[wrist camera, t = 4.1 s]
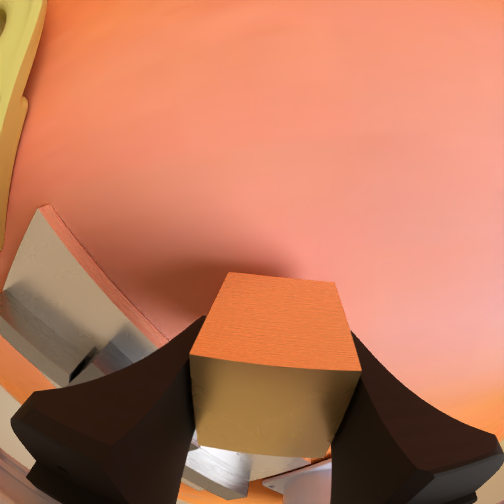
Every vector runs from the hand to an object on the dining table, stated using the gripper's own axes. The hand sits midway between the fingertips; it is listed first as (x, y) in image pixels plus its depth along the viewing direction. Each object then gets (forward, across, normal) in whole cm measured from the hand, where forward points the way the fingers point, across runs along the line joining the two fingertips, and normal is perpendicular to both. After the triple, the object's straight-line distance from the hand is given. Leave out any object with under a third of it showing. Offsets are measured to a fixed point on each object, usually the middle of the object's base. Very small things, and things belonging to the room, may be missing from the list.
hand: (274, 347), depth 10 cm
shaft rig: (+3, +8, +8) cm, 12 cm away
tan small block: (+2, 0, 0) cm, 2 cm away
